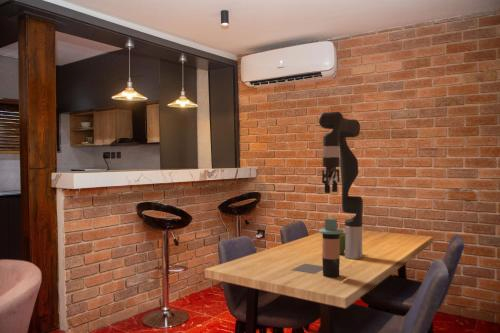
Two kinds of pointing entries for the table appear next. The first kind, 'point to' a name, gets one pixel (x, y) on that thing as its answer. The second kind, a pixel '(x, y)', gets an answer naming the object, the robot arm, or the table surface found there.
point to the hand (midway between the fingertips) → (331, 192)
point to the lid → (331, 227)
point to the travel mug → (331, 255)
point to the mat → (308, 268)
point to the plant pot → (342, 243)
